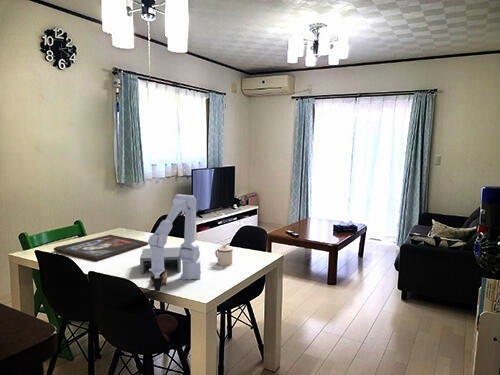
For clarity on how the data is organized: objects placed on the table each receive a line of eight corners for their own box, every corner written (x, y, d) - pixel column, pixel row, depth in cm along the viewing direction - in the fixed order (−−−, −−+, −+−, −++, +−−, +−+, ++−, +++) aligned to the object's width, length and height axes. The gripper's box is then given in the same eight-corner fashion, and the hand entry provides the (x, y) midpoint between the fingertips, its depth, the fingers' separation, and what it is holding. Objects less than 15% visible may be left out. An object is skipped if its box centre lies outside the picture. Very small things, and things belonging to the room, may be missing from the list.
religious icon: (51, 252, 231) (51, 247, 230) (108, 237, 270) (108, 233, 270) (95, 263, 212) (94, 258, 212) (149, 246, 252) (149, 241, 251)
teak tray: (167, 274, 195) (167, 264, 194) (166, 285, 179) (166, 274, 179) (153, 274, 193) (153, 264, 193) (151, 286, 178) (151, 275, 177)
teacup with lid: (235, 263, 214) (236, 244, 213) (225, 267, 207) (225, 247, 206) (220, 259, 222) (220, 240, 220) (210, 262, 214) (210, 243, 213)
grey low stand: (180, 261, 216) (180, 247, 215) (180, 272, 198) (180, 256, 197) (143, 263, 212) (143, 248, 211) (140, 274, 194) (140, 258, 193)
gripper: (150, 255, 176) (150, 282, 178) (147, 265, 162) (148, 294, 164) (165, 254, 178) (165, 281, 179) (163, 264, 163) (164, 293, 165)
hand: (158, 287), depth 171 cm, fingers open, 7 cm apart
